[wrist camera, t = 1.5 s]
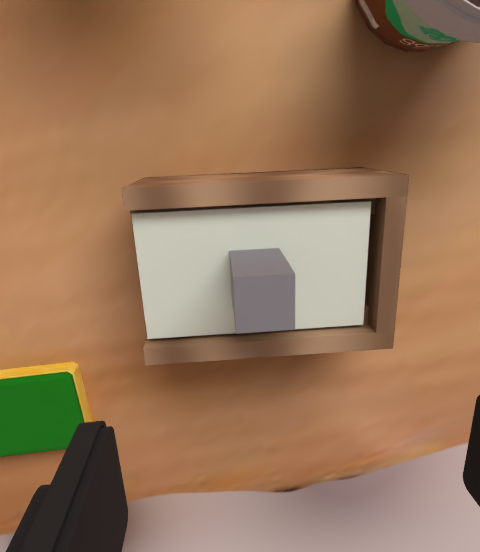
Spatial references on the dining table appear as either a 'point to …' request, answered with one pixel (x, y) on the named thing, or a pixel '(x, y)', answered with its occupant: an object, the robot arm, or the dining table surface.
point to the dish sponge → (41, 408)
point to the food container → (422, 22)
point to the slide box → (286, 190)
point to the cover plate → (204, 262)
